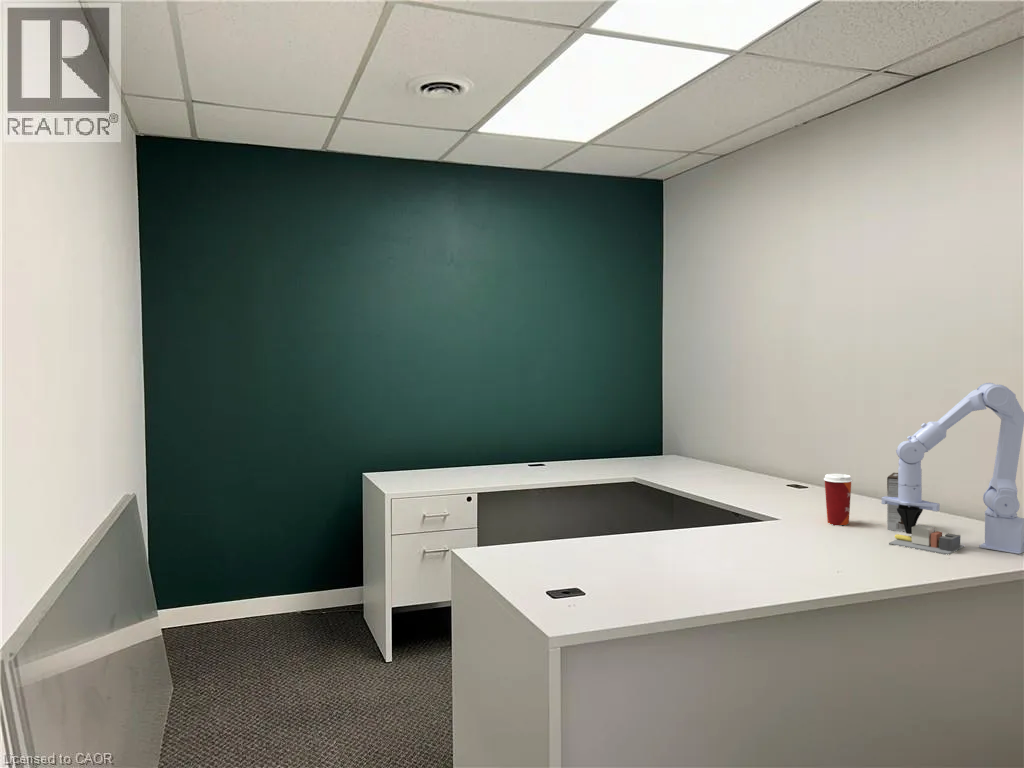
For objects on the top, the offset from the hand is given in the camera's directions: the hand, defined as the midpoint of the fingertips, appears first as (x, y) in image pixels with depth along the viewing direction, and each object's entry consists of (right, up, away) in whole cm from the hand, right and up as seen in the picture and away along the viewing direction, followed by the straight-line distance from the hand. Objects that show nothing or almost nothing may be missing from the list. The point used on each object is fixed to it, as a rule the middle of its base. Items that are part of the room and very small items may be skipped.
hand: (909, 533), depth 206 cm
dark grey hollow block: (+7, -3, -8) cm, 11 cm away
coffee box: (+6, -2, +16) cm, 17 cm away
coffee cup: (-9, -2, +24) cm, 26 cm away
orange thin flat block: (+4, -3, -5) cm, 7 cm away
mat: (+3, -3, -3) cm, 5 cm away
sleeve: (+2, -3, -3) cm, 4 cm away
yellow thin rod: (+2, -3, -2) cm, 4 cm away
